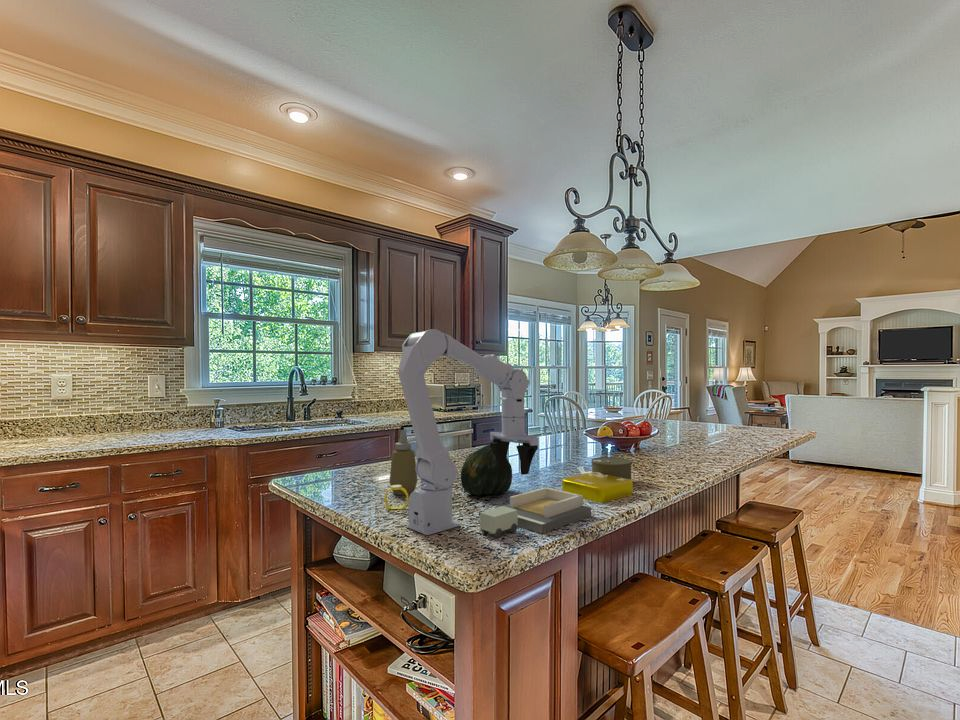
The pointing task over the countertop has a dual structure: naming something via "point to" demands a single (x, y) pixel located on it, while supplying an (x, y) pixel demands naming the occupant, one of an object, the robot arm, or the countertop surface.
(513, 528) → the upright pale green block
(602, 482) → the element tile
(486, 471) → the squash
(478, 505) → the countertop surface
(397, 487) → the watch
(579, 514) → the dock
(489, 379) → the robot arm
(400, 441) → the squeeze bottle
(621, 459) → the can
